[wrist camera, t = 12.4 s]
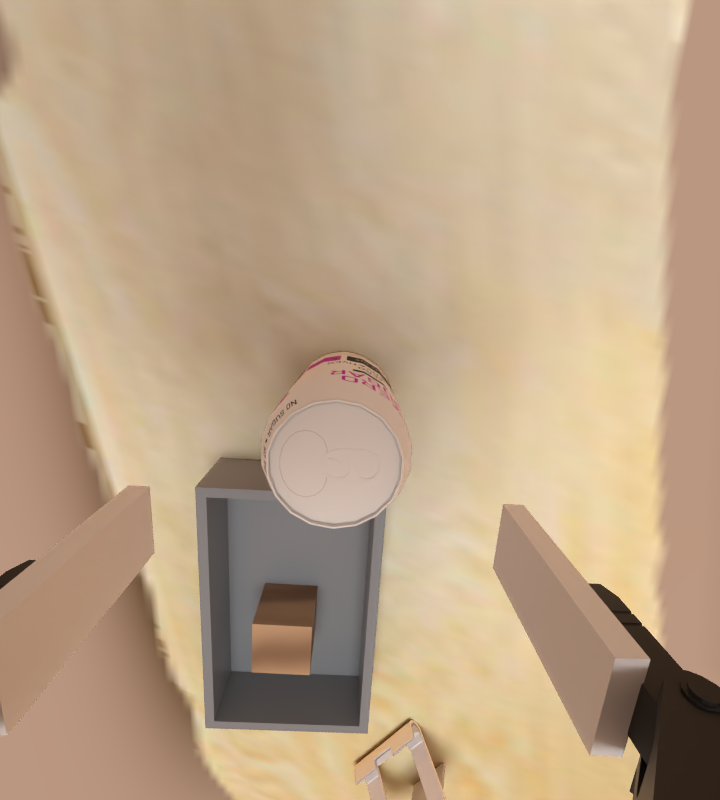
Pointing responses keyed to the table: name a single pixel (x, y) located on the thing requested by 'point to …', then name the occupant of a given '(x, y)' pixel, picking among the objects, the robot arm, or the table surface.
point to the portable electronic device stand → (430, 787)
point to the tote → (283, 564)
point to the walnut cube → (284, 629)
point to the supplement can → (337, 443)
